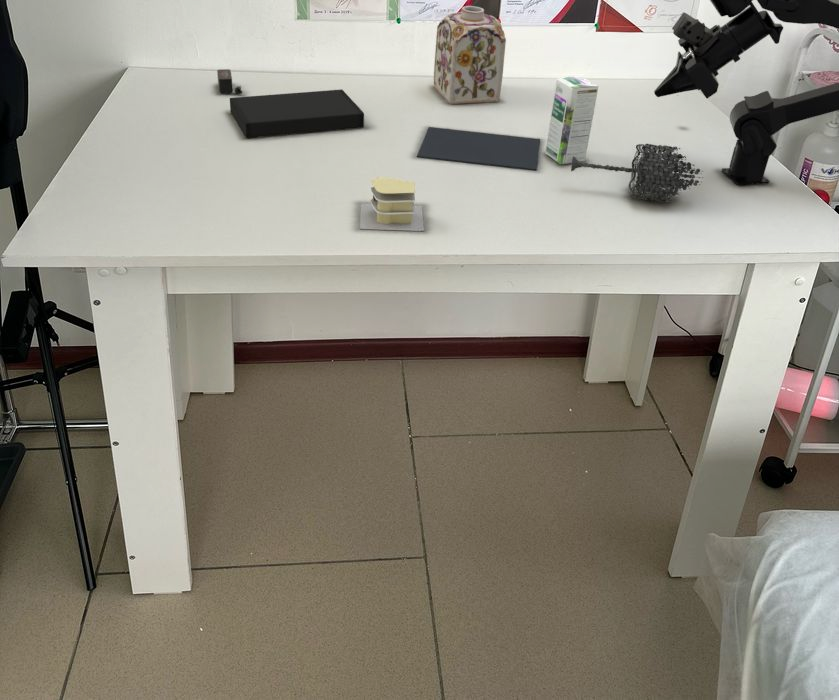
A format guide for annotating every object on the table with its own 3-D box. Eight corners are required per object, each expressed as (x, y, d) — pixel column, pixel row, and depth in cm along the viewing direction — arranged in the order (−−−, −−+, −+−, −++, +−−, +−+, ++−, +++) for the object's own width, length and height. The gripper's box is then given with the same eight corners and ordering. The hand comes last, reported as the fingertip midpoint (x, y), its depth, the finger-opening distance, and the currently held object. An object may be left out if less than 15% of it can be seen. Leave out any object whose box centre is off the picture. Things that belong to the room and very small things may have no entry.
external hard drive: (230, 112, 180) (229, 97, 178) (342, 103, 187) (342, 88, 186) (246, 138, 169) (245, 123, 167) (364, 128, 177) (364, 113, 175)
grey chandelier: (568, 178, 162) (576, 127, 157) (693, 191, 160) (705, 141, 155) (567, 200, 154) (576, 148, 149) (698, 215, 152) (711, 162, 147)
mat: (540, 140, 176) (540, 139, 176) (536, 170, 164) (536, 169, 164) (428, 128, 178) (428, 126, 178) (416, 157, 166) (416, 155, 166)
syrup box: (543, 153, 171) (554, 77, 162) (570, 150, 173) (582, 74, 165) (559, 165, 167) (571, 87, 158) (586, 161, 169) (599, 84, 161)
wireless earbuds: (219, 96, 187) (218, 80, 185) (218, 84, 192) (217, 69, 191) (242, 95, 188) (241, 80, 186) (240, 84, 193) (239, 69, 192)
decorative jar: (432, 86, 199) (437, 1, 189) (481, 84, 202) (489, 0, 192) (449, 105, 190) (456, 17, 179) (501, 102, 193) (510, 15, 183)
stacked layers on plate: (421, 206, 149) (423, 175, 146) (423, 231, 142) (425, 199, 139) (361, 204, 149) (361, 172, 146) (359, 229, 141) (360, 196, 138)
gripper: (703, -14, 158) (627, 43, 165) (715, 13, 143) (631, 75, 150) (737, 37, 162) (661, 91, 169) (752, 68, 147) (668, 126, 154)
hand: (655, 94), depth 160 cm, fingers closed
